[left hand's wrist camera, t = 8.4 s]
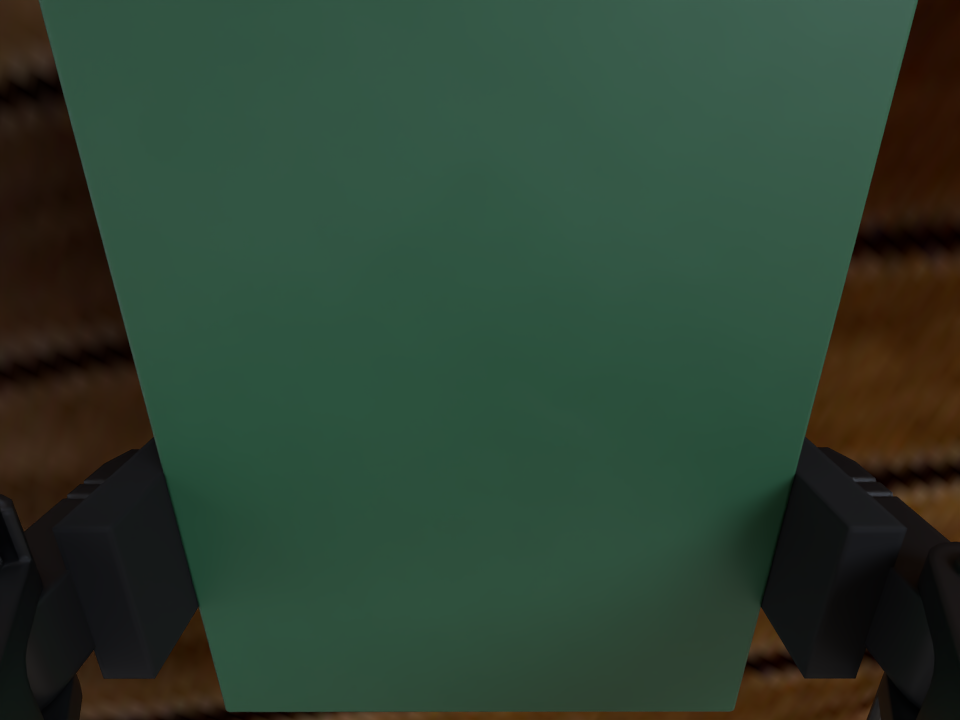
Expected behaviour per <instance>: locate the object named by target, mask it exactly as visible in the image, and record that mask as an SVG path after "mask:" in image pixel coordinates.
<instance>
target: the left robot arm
mask: <svg viewBox="0 0 960 720" xmlns="http://www.w3.org/2000/svg"><path fill="white" fill-rule="evenodd" d="M67 496H68V497H67V499H62V500H61V501H60V502H59V503H58V504H56V505H55V506H54V507H53V508H52V509H50V510H49V511H48V512H47V513H46V514H45V515H43V516H42V517H41V518H40V519H39V520H38V521H36V522H35V523H34V524H33V525H32V526H30V527H29V528H28V529H27V530H26V531H25V532H24V531H23V528H22V526H21V523H20V520H19V518H18V515H17V512H16V510H15V507H14V504H13V501H12V500H11V499H10V498H8V497H6V496H4V495H2V494H0V720H79V718H80V710H81V702H82V691H81V686H80V682H79V680H78V677H77V674H76V672H77V671H78V670H79V668H80V667H81V666H82V665H83V663H84V662H85V661H86V659H87V658H88V657H89V655H90V654H91V653H92V651H93V650H94V652H95V654H96V657H97V660H98V663H99V666H100V669H101V672H102V675H103V677H104V679H155V677H156V676H157V674H158V672H159V671H160V669H161V667H162V666H163V664H164V662H165V661H166V659H167V657H168V656H169V654H170V653H171V651H172V649H173V648H174V646H175V644H176V643H177V641H178V639H179V638H180V636H181V634H182V633H183V631H184V630H185V628H186V626H187V625H188V623H189V621H190V620H191V618H192V616H193V615H194V613H195V611H196V610H197V608H198V606H199V605H198V601H197V598H196V594H195V590H194V586H193V582H192V579H191V575H190V571H189V567H188V564H187V560H186V556H185V552H184V548H183V545H182V541H181V537H180V533H179V529H178V526H177V522H176V518H175V514H174V511H173V507H172V503H171V499H170V495H169V492H168V488H167V484H166V480H165V476H164V473H163V469H162V465H161V461H160V458H159V454H158V450H157V446H156V442H155V439H154V437H153V438H152V439H151V440H150V441H149V442H148V443H147V444H146V445H144V446H143V447H142V448H141V449H132V450H130V451H128V452H126V453H124V454H122V455H120V456H118V457H116V458H114V459H112V460H110V461H109V462H107V463H105V464H103V465H102V466H101V467H100V468H99V469H97V470H96V471H95V472H94V473H93V474H92V475H90V476H89V477H88V478H87V479H86V480H85V481H84V484H80V485H79V486H77V487H76V488H75V489H74V490H73V491H72V492H70V493H69V494H68V495H67ZM761 607H762V609H763V611H764V612H765V614H766V616H767V617H768V619H769V621H770V622H771V624H772V626H773V627H774V629H775V630H776V632H777V634H778V635H779V637H780V639H781V640H782V642H783V644H784V645H785V647H786V649H787V650H788V652H789V654H790V655H791V657H792V658H793V660H794V662H795V663H796V665H797V667H798V668H799V670H800V672H801V673H802V675H803V677H804V678H856V675H857V672H858V670H859V667H860V664H861V661H862V658H863V655H864V652H865V649H866V648H867V649H868V651H869V652H870V653H871V654H872V656H873V657H874V658H875V660H876V661H877V662H878V664H879V665H880V666H881V667H882V669H883V670H884V674H883V677H882V680H881V682H880V685H879V688H878V690H877V693H876V696H875V698H874V701H873V704H872V707H871V709H870V712H869V715H868V717H867V720H960V542H950V541H949V540H948V539H946V538H945V537H944V536H943V535H942V534H941V533H939V532H938V531H937V530H936V529H935V528H933V527H932V526H931V525H930V524H929V523H928V522H926V521H925V520H924V519H923V518H922V517H920V516H919V515H918V514H917V513H916V512H915V511H913V510H912V509H911V508H910V507H909V506H907V505H906V504H905V503H904V502H903V501H902V500H900V499H899V498H898V497H893V495H892V492H891V491H890V490H888V489H887V488H886V487H885V486H884V485H883V484H881V483H880V482H876V479H875V478H874V477H873V476H872V475H871V474H870V473H868V472H867V471H866V470H865V469H864V468H862V467H861V466H860V465H859V464H858V463H857V462H855V461H853V460H851V459H849V458H847V457H846V456H844V455H842V454H840V453H838V452H836V451H834V450H832V449H830V448H828V447H816V446H815V445H814V444H813V443H812V442H810V441H809V440H808V439H807V438H806V437H804V441H803V445H802V449H801V453H800V457H799V461H798V464H797V468H796V472H795V476H794V480H793V484H792V488H791V491H790V495H789V499H788V503H787V507H786V511H785V515H784V518H783V522H782V526H781V530H780V534H779V538H778V542H777V545H776V549H775V553H774V557H773V561H772V565H771V569H770V572H769V576H768V580H767V584H766V588H765V592H764V596H763V599H762V603H761Z"/></svg>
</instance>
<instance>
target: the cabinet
mask: <svg viewBox="0 0 960 720" xmlns="http://www.w3.org/2000/svg"><path fill="white" fill-rule="evenodd" d="M917 2H918V0H39V3H40V7H41V11H42V15H43V18H44V22H45V26H46V30H47V34H48V37H49V41H50V45H51V49H52V53H53V56H54V60H55V64H56V68H57V71H58V75H59V79H60V83H61V87H62V90H63V94H64V98H65V102H66V106H67V109H68V113H69V117H70V121H71V124H72V128H73V132H74V136H75V140H76V143H77V147H78V151H79V155H80V159H81V162H82V166H83V170H84V174H85V177H86V181H87V185H88V189H89V193H90V196H91V200H92V204H93V208H94V212H95V215H96V219H97V223H98V227H99V230H100V234H101V238H102V242H103V246H104V249H105V253H106V257H107V261H108V265H109V268H110V272H111V276H112V280H113V283H114V287H115V291H116V295H117V299H118V302H119V306H120V310H121V314H122V318H123V321H124V325H125V329H126V333H127V336H128V340H129V344H130V348H131V352H132V355H133V359H134V363H135V367H136V371H137V374H138V378H139V382H140V386H141V389H142V393H143V397H144V401H145V405H146V408H147V412H148V416H149V420H150V423H151V427H152V431H153V435H154V439H155V442H156V446H157V450H158V454H159V458H160V461H161V465H162V469H163V473H164V476H165V480H166V484H167V488H168V492H169V495H170V499H171V503H172V507H173V511H174V514H175V518H176V522H177V526H178V529H179V533H180V537H181V541H182V545H183V548H184V552H185V556H186V560H187V564H188V567H189V571H190V575H191V579H192V582H193V586H194V590H195V594H196V598H197V601H198V605H199V609H200V613H201V617H202V620H203V624H204V628H205V632H206V635H207V639H208V643H209V647H210V651H211V654H212V658H213V662H214V666H215V670H216V673H217V677H218V681H219V685H220V688H221V692H222V696H223V700H224V704H225V707H226V710H227V711H229V712H573V711H732V710H734V707H735V704H736V700H737V696H738V692H739V688H740V684H741V680H742V677H743V673H744V669H745V665H746V661H747V657H748V653H749V650H750V646H751V642H752V638H753V634H754V630H755V626H756V623H757V619H758V615H759V611H760V607H761V603H762V599H763V596H764V592H765V588H766V584H767V580H768V576H769V572H770V569H771V565H772V561H773V557H774V553H775V549H776V545H777V542H778V538H779V534H780V530H781V526H782V522H783V518H784V515H785V511H786V507H787V503H788V499H789V495H790V491H791V488H792V484H793V480H794V476H795V472H796V468H797V464H798V461H799V457H800V453H801V449H802V445H803V441H804V437H805V434H806V430H807V426H808V422H809V418H810V414H811V410H812V407H813V403H814V399H815V395H816V391H817V387H818V383H819V380H820V376H821V372H822V368H823V364H824V360H825V356H826V353H827V349H828V345H829V341H830V337H831V333H832V329H833V326H834V322H835V318H836V314H837V310H838V306H839V302H840V299H841V295H842V291H843V287H844V283H845V279H846V275H847V272H848V268H849V264H850V260H851V256H852V252H853V249H854V245H855V241H856V237H857V233H858V229H859V225H860V222H861V218H862V214H863V210H864V206H865V202H866V198H867V195H868V191H869V187H870V183H871V179H872V175H873V171H874V168H875V164H876V160H877V156H878V152H879V148H880V144H881V141H882V137H883V133H884V129H885V125H886V121H887V117H888V114H889V110H890V106H891V102H892V98H893V94H894V90H895V87H896V83H897V79H898V75H899V71H900V67H901V63H902V60H903V56H904V52H905V48H906V44H907V40H908V36H909V33H910V29H911V25H912V21H913V17H914V13H915V9H916V6H917Z"/></svg>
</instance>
